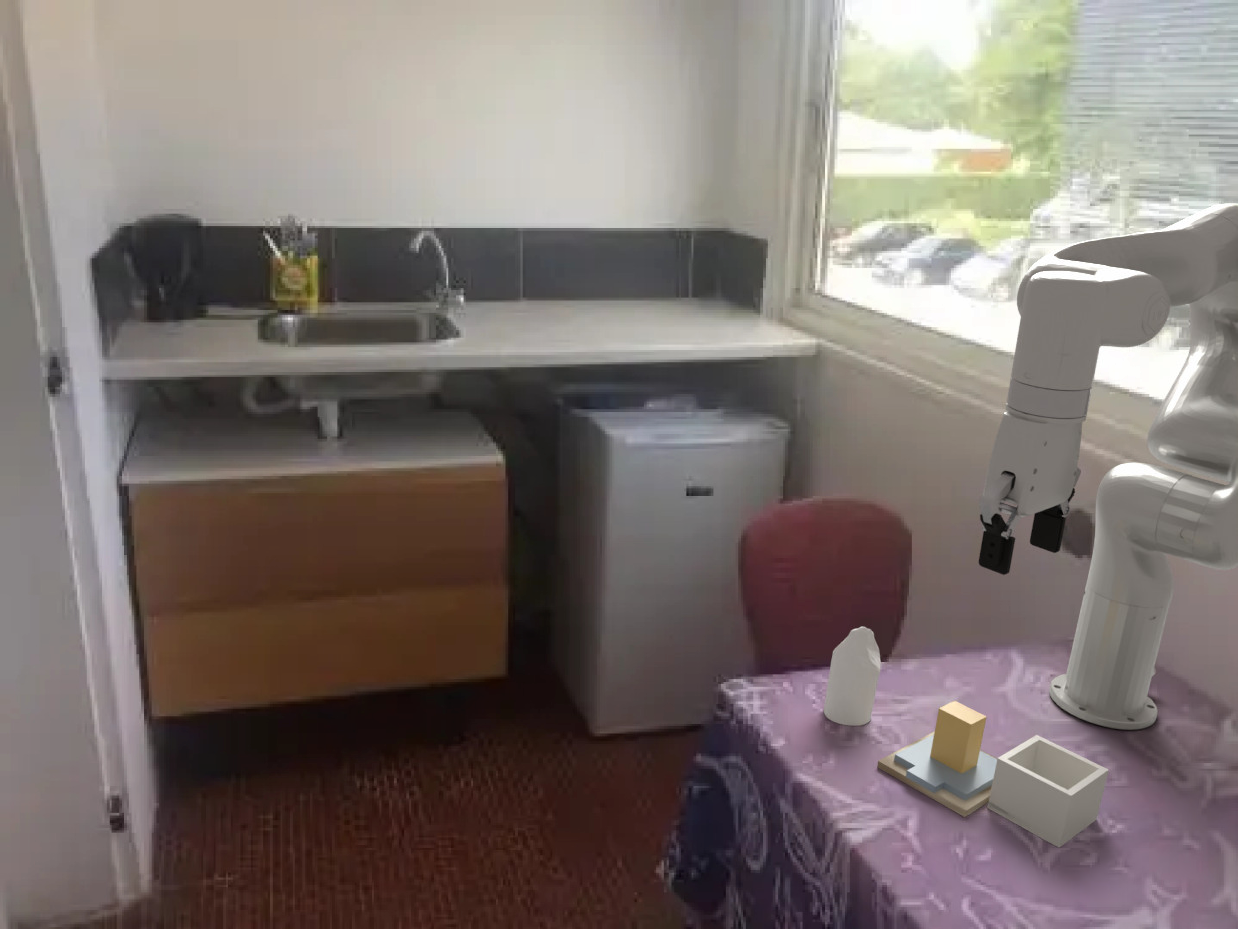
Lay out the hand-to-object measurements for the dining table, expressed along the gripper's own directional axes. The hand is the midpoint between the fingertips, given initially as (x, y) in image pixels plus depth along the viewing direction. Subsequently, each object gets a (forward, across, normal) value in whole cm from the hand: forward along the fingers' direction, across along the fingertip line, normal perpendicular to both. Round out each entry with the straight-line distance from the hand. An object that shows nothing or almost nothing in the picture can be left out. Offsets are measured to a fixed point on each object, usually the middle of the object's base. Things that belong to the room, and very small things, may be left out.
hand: (1019, 558), depth 112 cm
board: (+26, +4, -2) cm, 26 cm away
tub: (+26, +2, +8) cm, 27 cm away
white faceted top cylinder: (+26, +3, -16) cm, 31 cm away
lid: (+25, +4, -2) cm, 25 cm away
